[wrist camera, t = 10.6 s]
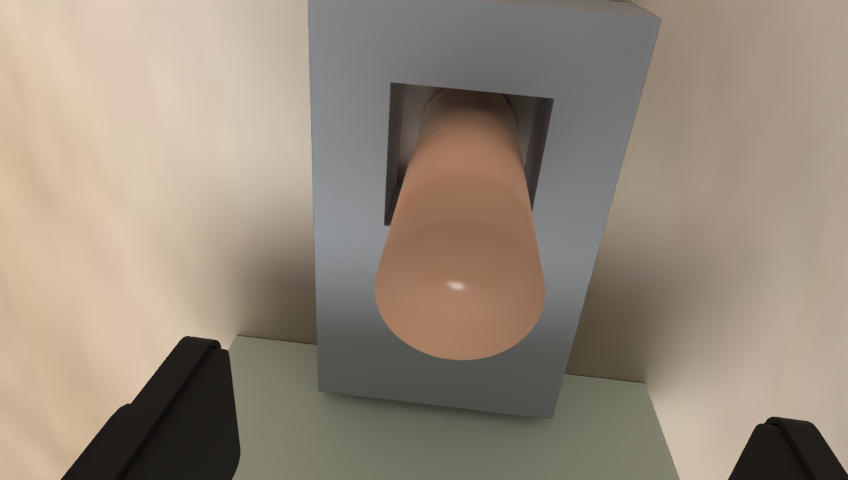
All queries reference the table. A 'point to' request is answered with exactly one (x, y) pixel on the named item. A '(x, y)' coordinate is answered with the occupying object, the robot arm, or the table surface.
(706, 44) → the table surface
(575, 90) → the socket
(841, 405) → the table surface
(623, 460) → the pale green rectangular block
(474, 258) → the peg
